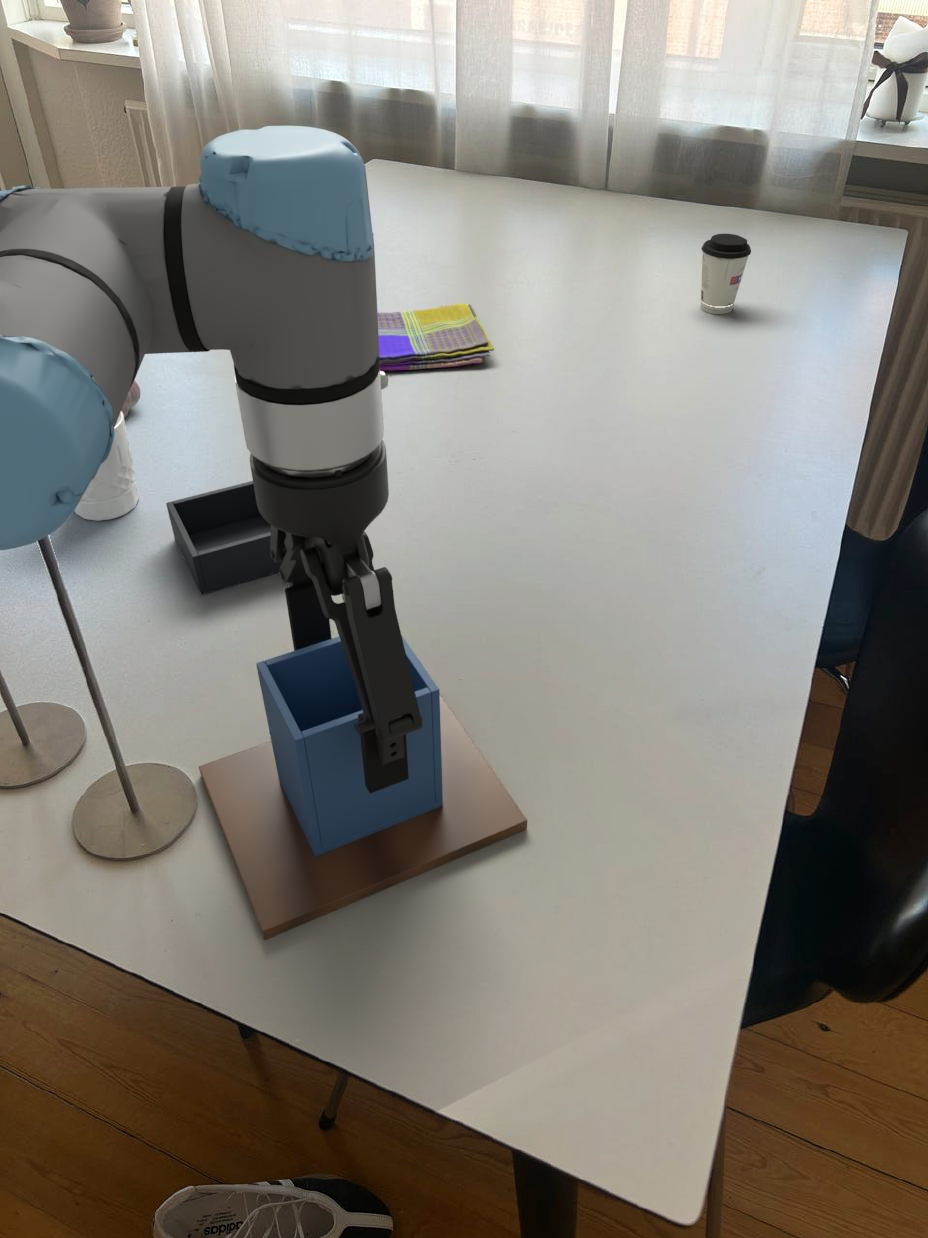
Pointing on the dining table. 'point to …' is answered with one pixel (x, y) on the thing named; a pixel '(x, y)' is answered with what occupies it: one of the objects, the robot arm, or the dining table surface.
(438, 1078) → the dining table surface
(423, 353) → the dish towel
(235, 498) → the charcoal bin
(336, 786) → the blue bin
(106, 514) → the white cup
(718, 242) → the coffee cup
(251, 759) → the brown wooden flat board
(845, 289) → the dining table surface
